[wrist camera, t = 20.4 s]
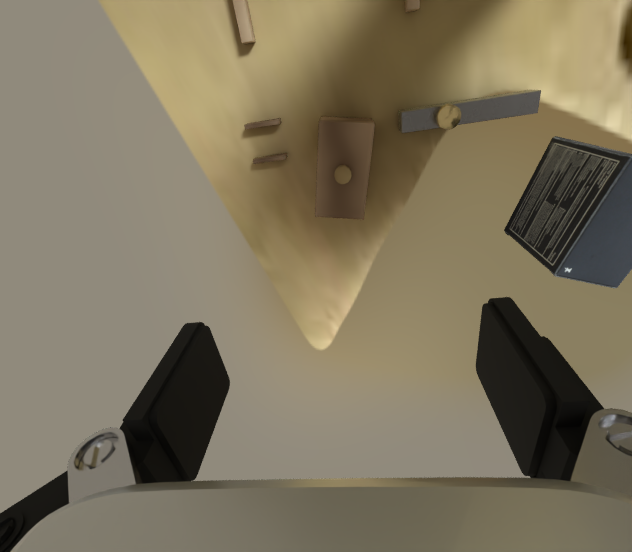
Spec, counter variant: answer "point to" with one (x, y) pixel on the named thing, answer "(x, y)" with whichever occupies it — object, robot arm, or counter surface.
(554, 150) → the small box
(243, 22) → the bolt guide rails
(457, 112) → the bar
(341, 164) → the cap block
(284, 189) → the counter surface
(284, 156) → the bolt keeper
